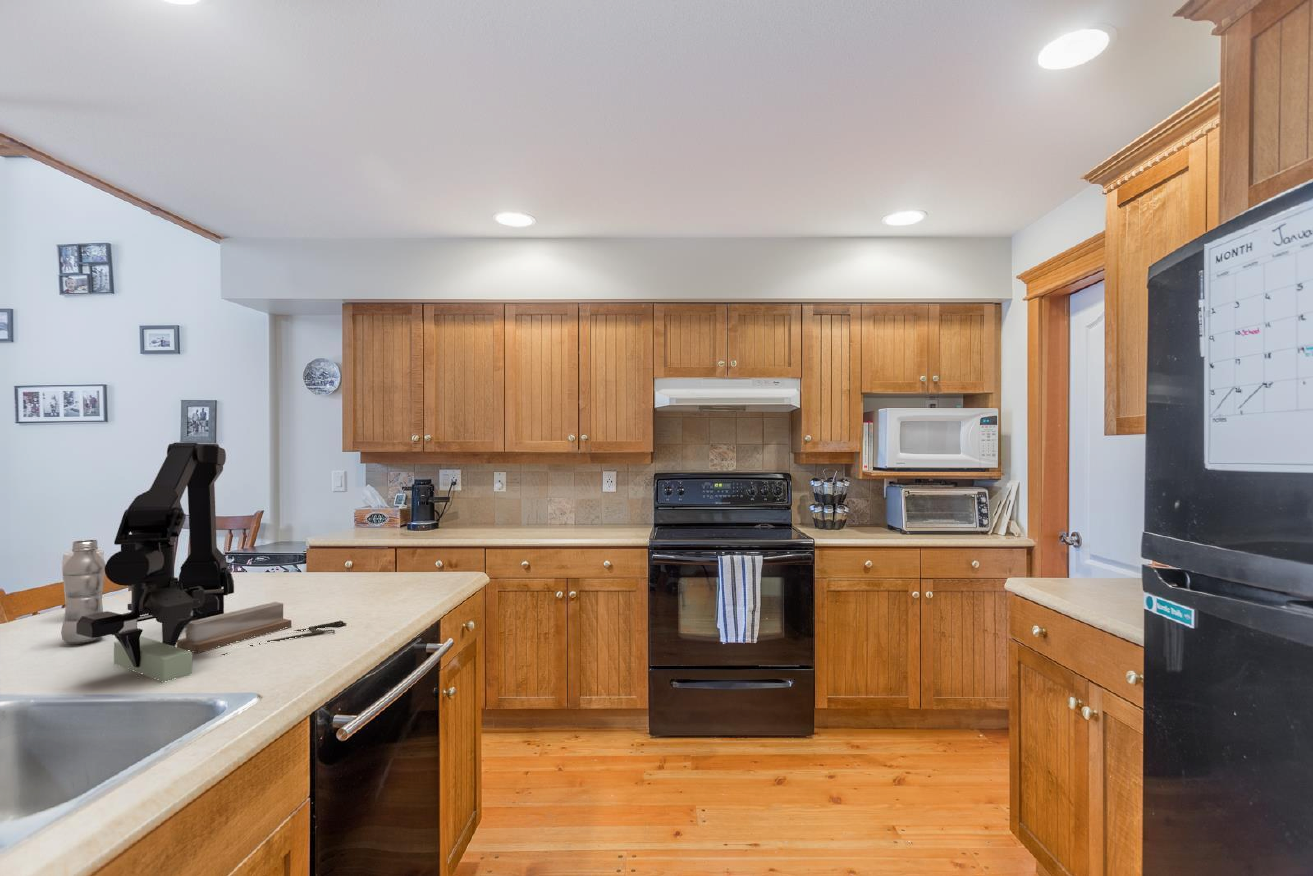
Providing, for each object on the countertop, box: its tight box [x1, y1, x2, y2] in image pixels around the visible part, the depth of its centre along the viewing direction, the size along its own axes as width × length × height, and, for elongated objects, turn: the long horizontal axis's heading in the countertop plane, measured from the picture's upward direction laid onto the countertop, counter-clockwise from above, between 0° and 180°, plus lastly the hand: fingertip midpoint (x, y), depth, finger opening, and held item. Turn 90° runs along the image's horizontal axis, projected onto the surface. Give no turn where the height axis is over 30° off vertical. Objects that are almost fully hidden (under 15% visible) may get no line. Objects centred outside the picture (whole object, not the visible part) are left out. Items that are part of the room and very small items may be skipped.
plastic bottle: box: [60, 539, 106, 644], centre depth 119 cm, size 6×7×20 cm
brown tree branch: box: [221, 620, 348, 656], centre depth 121 cm, size 24×10×2 cm, turn 123°
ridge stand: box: [176, 601, 292, 654], centre depth 123 cm, size 7×18×5 cm, turn 155°
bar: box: [113, 635, 193, 683], centre depth 105 cm, size 18×4×4 cm, turn 62°
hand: (152, 662), depth 105 cm, fingers closed on bar, 4 cm apart
